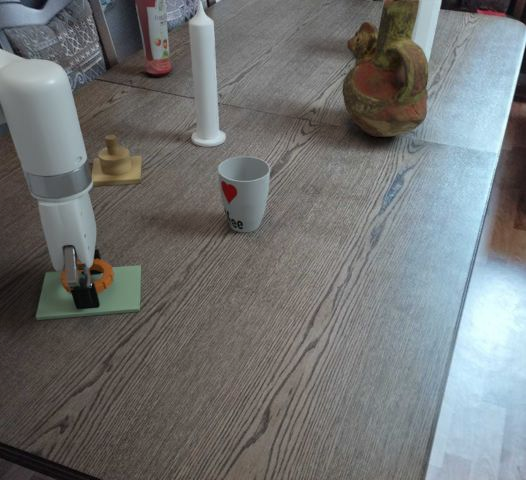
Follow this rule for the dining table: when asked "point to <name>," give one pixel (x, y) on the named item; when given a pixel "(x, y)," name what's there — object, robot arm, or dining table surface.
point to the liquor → (154, 36)
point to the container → (425, 24)
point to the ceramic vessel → (387, 73)
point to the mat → (111, 300)
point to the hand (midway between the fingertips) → (90, 288)
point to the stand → (116, 165)
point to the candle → (204, 80)
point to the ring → (99, 266)
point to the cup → (244, 191)
